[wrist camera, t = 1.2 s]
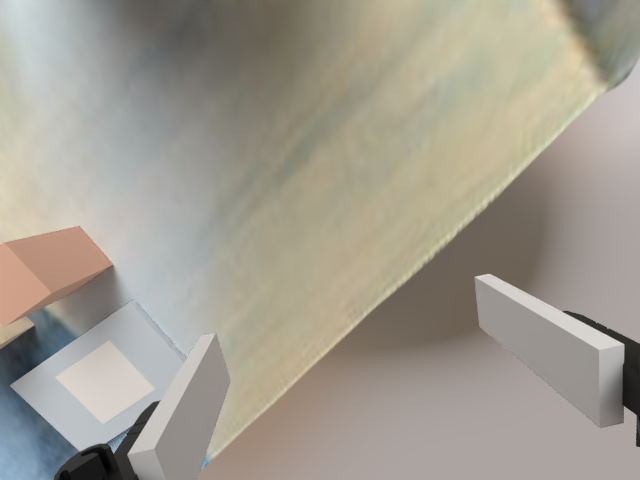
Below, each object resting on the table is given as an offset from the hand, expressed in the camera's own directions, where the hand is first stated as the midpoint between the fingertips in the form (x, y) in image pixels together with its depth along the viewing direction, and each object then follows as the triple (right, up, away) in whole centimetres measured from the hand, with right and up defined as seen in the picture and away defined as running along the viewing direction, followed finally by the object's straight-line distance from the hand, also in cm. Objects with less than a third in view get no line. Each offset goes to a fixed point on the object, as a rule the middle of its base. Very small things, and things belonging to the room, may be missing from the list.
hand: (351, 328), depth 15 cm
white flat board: (-30, -14, +27) cm, 43 cm away
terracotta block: (-32, +2, +24) cm, 40 cm away
